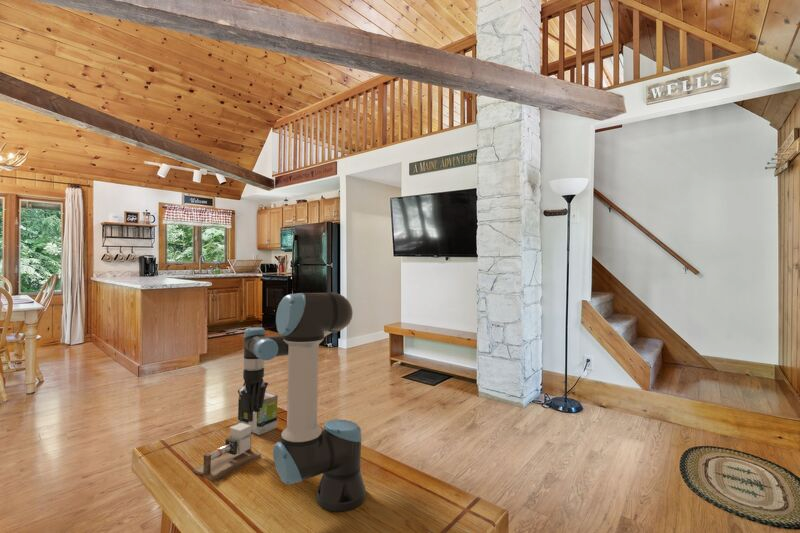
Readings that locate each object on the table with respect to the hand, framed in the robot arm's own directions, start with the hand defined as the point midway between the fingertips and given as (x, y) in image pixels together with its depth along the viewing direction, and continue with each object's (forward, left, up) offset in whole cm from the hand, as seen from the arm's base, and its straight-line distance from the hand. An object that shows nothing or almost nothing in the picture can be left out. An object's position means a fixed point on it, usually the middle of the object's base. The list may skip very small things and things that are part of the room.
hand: (252, 428), depth 148 cm
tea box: (+15, -17, -9) cm, 24 cm away
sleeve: (0, +6, -6) cm, 8 cm away
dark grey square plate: (0, +10, -5) cm, 11 cm away
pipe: (0, +11, -4) cm, 12 cm away
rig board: (0, +11, -9) cm, 14 cm away
